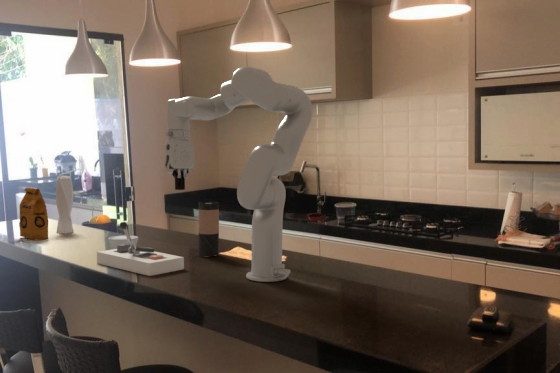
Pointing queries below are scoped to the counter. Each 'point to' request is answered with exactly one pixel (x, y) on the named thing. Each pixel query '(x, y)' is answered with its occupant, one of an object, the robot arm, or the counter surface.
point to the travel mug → (208, 228)
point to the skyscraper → (64, 203)
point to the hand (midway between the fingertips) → (180, 189)
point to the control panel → (140, 261)
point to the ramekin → (121, 241)
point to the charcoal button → (123, 248)
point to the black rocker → (144, 249)
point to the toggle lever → (127, 235)
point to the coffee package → (33, 215)
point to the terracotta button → (156, 257)
